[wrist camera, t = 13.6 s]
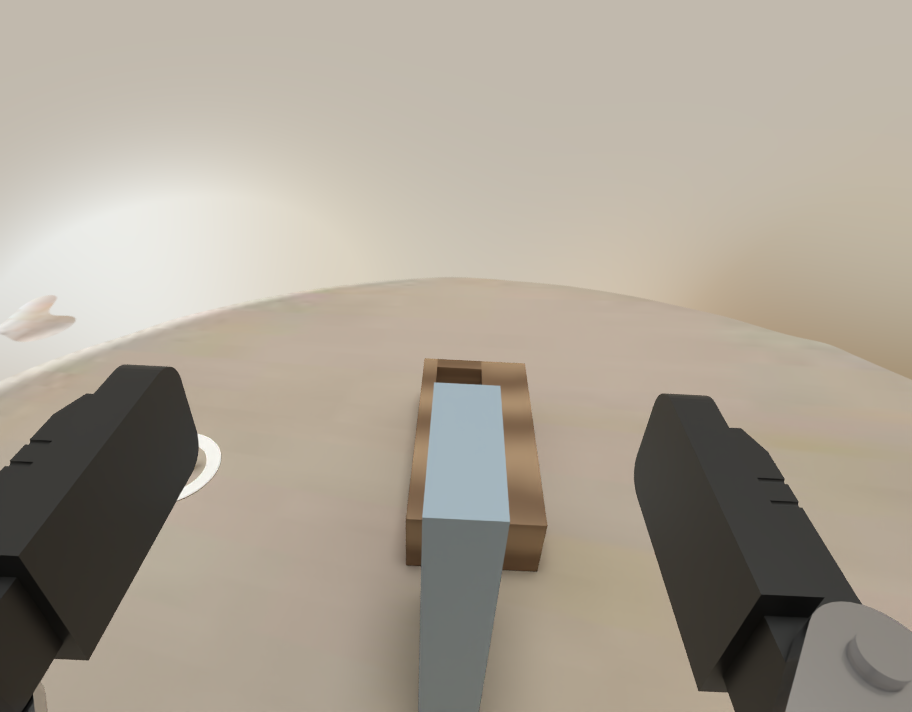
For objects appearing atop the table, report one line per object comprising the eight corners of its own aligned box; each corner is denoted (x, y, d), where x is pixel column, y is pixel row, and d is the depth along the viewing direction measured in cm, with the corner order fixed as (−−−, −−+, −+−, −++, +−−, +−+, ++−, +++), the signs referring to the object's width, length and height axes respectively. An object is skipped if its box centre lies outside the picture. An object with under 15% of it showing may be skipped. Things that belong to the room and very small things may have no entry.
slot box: (537, 571, 39) (547, 525, 36) (406, 564, 39) (405, 518, 36) (518, 405, 53) (524, 363, 51) (423, 400, 53) (424, 358, 50)
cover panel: (475, 731, 30) (510, 522, 20) (417, 728, 30) (422, 517, 20) (474, 596, 37) (500, 385, 27) (427, 594, 37) (434, 382, 27)
